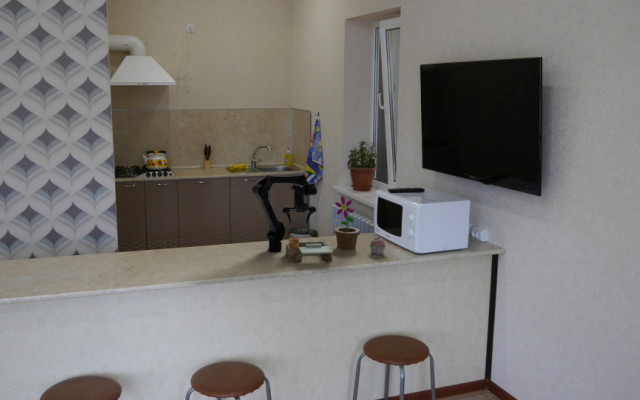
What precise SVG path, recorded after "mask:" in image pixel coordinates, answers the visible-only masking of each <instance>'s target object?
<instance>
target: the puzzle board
mask: <svg viewBox="0 0 640 400" xmlns="http://www.w3.org/2000/svg"><path fill="white" fill-rule="evenodd" d="M306 244H322V246H329V244H328V243H327V242H326V241H325V240H319V241H318V240H317V241H309V240H308V241H299V247H306ZM330 249H331V250H332V251H333V249H332V248H331V247H330ZM322 255H323V256H324V258H327V259H326V260H327V261H328V262H332V261H333V253H322ZM285 256H286V257H287V259H288V261H289V263H302V262H303V261H302V260H303V254H302V253H301V252H300V250H299V249H290V247H289V243H287V244H285Z"/></svg>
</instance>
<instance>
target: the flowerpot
mask: <svg viewBox="0 0 640 400" xmlns="http://www.w3.org/2000/svg"><path fill="white" fill-rule="evenodd" d="M340 201H341V202H339V201H335V203H334V204H335V206H336V207H338V208H339V209H338V210H337V212H336V215H341V214H342V213H343V217H344V219H345V220H346V221H345V220H343V221H341V222H340V224H342V225H344V226H338V227H336V228H334V231H333V233H334V235H335V236H336V245H337V246H336V247H337V249H339V250H341V249H342V250H343V251H353V250H356V246H357V243H358V242H357V241H358V238H359V237H358V236H359V235H360V234H361V230H360V229H359V228H356V227H351V226H349V223H355V219H354V218H353V217H352V216H349V213H350V214H351V213H354V210H353V208H351V207H350V205H352V203H353V201H352V199H350V200H348V201H346V198H345V197H344V195H342V196H341V197H340Z"/></svg>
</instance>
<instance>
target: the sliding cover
mask: <svg viewBox="0 0 640 400" xmlns="http://www.w3.org/2000/svg"><path fill="white" fill-rule="evenodd" d="M330 248H331V247H330V246H329V245H328V246H322V244H306V247H298V249H299V250H300V252H301V253H302V255H313V254H314V255H315V254H317V255H319V254H320V255H321V254H322V255H323V253H332V254H333V253H334V252H333V249H332V248H331V249H332V250H331V249H330Z"/></svg>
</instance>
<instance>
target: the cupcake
mask: <svg viewBox="0 0 640 400" xmlns="http://www.w3.org/2000/svg"><path fill="white" fill-rule="evenodd" d="M368 246H369V248H370V252H371V255H375V256H380V255H383V254H384V251H385V248H386V247H387V244H386V242H385V240H384V238H382V237H380V236H379V235H376V236H375V237H374V239H372V240H371V241H370V243H369V245H368Z"/></svg>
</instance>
